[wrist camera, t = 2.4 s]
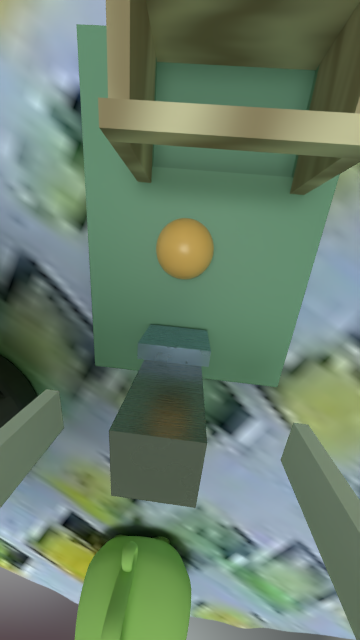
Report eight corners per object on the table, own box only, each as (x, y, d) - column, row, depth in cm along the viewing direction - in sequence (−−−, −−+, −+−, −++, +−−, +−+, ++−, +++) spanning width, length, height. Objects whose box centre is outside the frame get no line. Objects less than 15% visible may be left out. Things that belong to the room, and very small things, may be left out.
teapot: (195, 595, 33) (196, 798, 21) (112, 589, 34) (66, 776, 22) (187, 513, 27) (181, 737, 14) (85, 509, 28) (-2, 711, 15)
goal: (139, 183, 14) (98, 127, 8) (142, 39, 12) (88, -191, 6) (301, 196, 14) (385, 147, 8) (337, 48, 11) (500, -191, 5)
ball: (159, 274, 16) (149, 279, 12) (162, 221, 15) (151, 208, 11) (207, 279, 16) (212, 285, 12) (214, 226, 14) (221, 214, 11)
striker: (148, 373, 18) (100, 494, 9) (150, 323, 17) (95, 405, 7) (199, 379, 18) (206, 509, 9) (206, 329, 17) (224, 421, 7)
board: (99, 360, 20) (95, 365, 19) (85, 42, 13) (76, 24, 12) (272, 380, 19) (277, 387, 18) (364, 56, 12) (379, 38, 11)
